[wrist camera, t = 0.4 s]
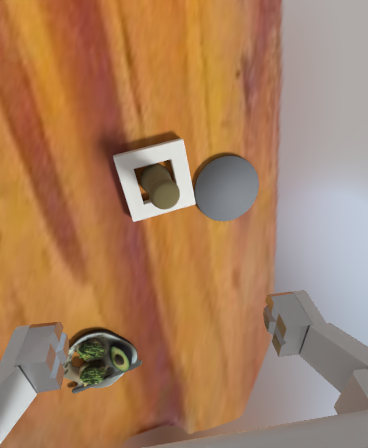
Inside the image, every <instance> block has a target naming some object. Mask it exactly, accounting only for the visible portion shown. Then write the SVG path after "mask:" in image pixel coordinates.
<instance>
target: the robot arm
mask: <svg viewBox="0 0 368 448" xmlns="http://www.w3.org/2000/svg"><path fill="white" fill-rule="evenodd" d="M266 303H267V306H266V307H265V308H264V312H263V316H264V322H265V326H266V328H267V331H268V332H269V333H270V334H272V335H273V339H272V343H273V345H274V347H275V349H276V351H277V354H278V356H279V357H281V356H289V355H298V354H300V356H301V357H302V358H303V359H304V360H305V361H306V362H307V363H308V364H310V365H311V366H312V367H313V368H314V369H315V370H316V371H317V372H318V373H319V374H321V375H322V376H323V377H324V378H325V379H326V380H327V381H328V382H329V383H331V384H332V385H333V386H334V387H335V388H336V389H337V390H338V391H339V392H341V394H340V396H339V398H338V400H337V402H336V403H335V406H334V408H335V410H336V412H337V414H338V415H334V416H328V417H323V418H316V419H310V420H304V421H298V422H292V423H286V424H281V425H275V426H269V427H263V428H257V429H251V430H245V431H239V432H233V433H227V434H221V435H215V436H209V437H203V438H197V439H191V440H186V441H180V442H174V443H167V444H161V445H155V446H150V447H144V448H368V347H367V346H366V345H364V344H363V343H361V342H360V341H358V340H356V339H355V338H353V337H352V336H350V335H348V334H347V333H345V332H344V331H342V330H341V329H339V328H337V327H336V326H334V325H333V324H331V323H326V321H325V320H324V319H323V317H322V315H321V314H320V312H319V311H318V309H317V308H316V306H315V305H314V303H313V301H312V300H311V298H310V297H309V295H308V294H307V292H306V291H304V290H302V291H294V292H285V293H277V294H270V295H267V297H266ZM62 330H63V326H62V324H61V322H53V323H43V324H34V325H25V326H18V327H17V328H16V329H15V330H14V332H13V334H12V336H11V339H10V341H9V343H8V346H7V348H6V350H5V353H4V355H3V357H2V360H1V362H0V444H1V442H2V441H3V440H4V438H5V437H6V436H7V434H8V433H9V432H10V430H11V429H12V428H13V426H14V425H15V424H16V422H17V421H18V419H19V418H20V417H21V415H22V414H23V413H24V411H25V410H26V409H27V407H28V406H29V405H30V403H31V402H32V401H33V399H34V398H35V396H36V395H37V393H40V392H45V391H51V390H57V389H61V385H62V381H63V377H64V372H65V370H64V368H63V366H62V365H63V364H64V363H65V361H66V360H67V359H68V354H69V341H68V337H67V335H66V334H65V333H63V332H62Z"/></svg>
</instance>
